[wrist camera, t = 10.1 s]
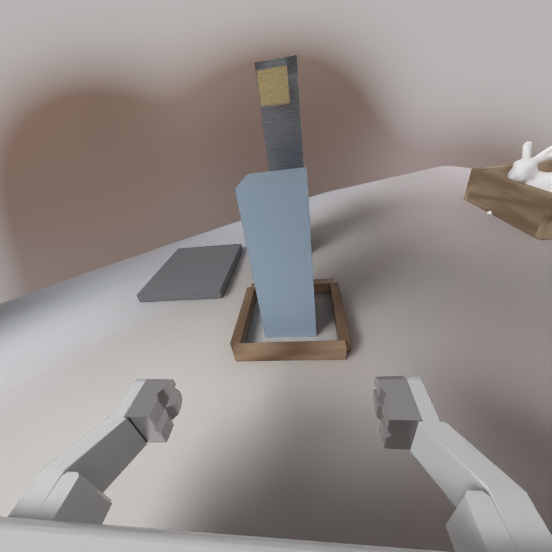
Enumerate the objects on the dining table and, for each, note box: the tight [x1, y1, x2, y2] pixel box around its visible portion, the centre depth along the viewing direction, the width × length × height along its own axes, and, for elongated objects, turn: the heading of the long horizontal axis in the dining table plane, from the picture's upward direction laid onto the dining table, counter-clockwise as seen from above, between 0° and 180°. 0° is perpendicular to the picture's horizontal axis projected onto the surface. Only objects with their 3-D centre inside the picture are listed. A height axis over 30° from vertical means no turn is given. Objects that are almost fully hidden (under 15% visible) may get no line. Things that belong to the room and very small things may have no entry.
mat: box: [137, 244, 242, 302], centre depth 34 cm, size 10×12×1 cm
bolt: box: [257, 66, 290, 107], centre depth 27 cm, size 2×15×2 cm, turn 175°
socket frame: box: [230, 279, 350, 361], centre depth 24 cm, size 10×10×1 cm
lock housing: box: [255, 55, 304, 171], centre depth 32 cm, size 4×6×21 cm, turn 175°
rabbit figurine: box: [486, 141, 552, 214], centre depth 36 cm, size 12×8×10 cm, turn 56°
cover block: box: [235, 167, 316, 338], centre depth 21 cm, size 4×4×13 cm
